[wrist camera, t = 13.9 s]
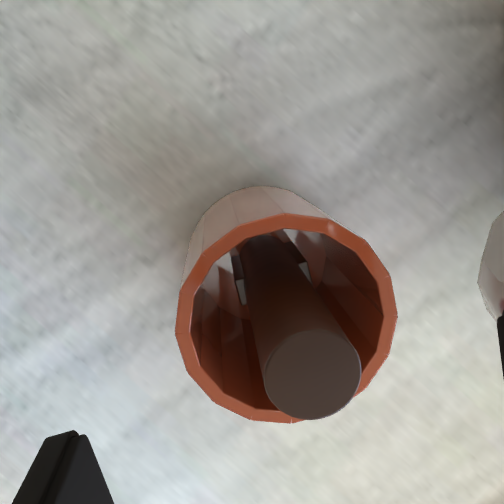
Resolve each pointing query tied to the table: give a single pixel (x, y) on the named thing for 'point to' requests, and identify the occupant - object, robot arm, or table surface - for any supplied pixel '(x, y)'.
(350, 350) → the brown cylindrical rod
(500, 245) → the chamber pot
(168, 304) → the table surface
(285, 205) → the utensil cup
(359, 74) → the table surface
